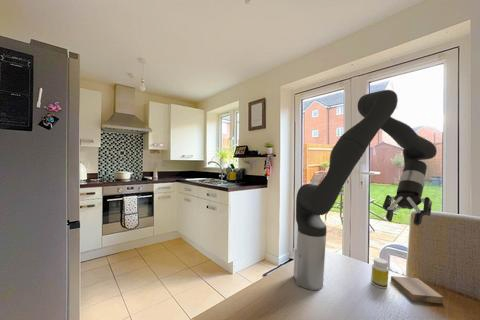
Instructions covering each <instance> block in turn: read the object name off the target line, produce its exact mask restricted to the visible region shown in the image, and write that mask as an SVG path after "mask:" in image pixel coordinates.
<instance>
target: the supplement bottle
mask: <svg viewBox="0 0 480 320" xmlns="http://www.w3.org/2000/svg"><path fill="white" fill-rule="evenodd" d="M388 263H389V262H388V261H387V260H385V259H384V258H379V257H374V258H373V263H372V265H371V275H370V277H371V278H370V279H371V280H370V283H371V284H372V285H373V286H374V287H377V288H379V289H387V288H388V286H389V285H388V283H389V282H388V281H389V267H388V265H389V264H388Z"/></svg>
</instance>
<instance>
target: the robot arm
mask: <svg viewBox="0 0 480 320" xmlns="http://www.w3.org/2000/svg"><path fill="white" fill-rule="evenodd" d="M398 99H399V98H398V95H397V93H396V92H395V91H393V90H392V89H382V90H378V91H377V90H376V91H374V92H373V91H372V92H370V93H367V94H366V93H365V94H364V95H362V96H360V98H359V100H358V101H357V110H358V113H359V115H361V117H363V118H362V119H361V120H360V121H359V122H358V123H356V124H354V125H353V126H352V127H350V128H349V129H348V130H347V131H345V132H344V133H343V134H342V135H340V136H339V138H338V140H337V141H336V143H335V144H334V145H333V147H332V148H331V152H330V154H329V163H328V170H327V171H326V172H327V173H326V174H325V176H324V178H323V179H322V180H321V181H320V182H319V184H315V183H314V184H313V183H304V184H302V185H301V186H300V187H299V188H298V191H297V193H296V199H295V221H296V223H297V233H296V234H297V235H296V236H297V237H296V249H295V250H294V258H293V260H294V261H293V278H294V281H295V285H296V286H298V287H302V288H303V289H306V290H311V291H316V290H317V291H318V290H321V289H322V288H323V287H324V280H325V279H324V275H325V262H326V261H325V260H326V245H327V225H326V224H325V222H324V221H323V219H322V218H321V216H324V215H326V214H328V213H329V212H330V211H331V209H332V208H333V207H334V205H335V204H336V201H337V199H338V198H339V195H340V193H341V191H342V189H343V187H344V186H345V184H346V182H347V180H348V178H349V177H350V175H351V173H352V172H353V171H354V168H355V167H356V165H357V164H358V163H359V161H360V160H361V159H362V157H363V155H364V153H365V152H366V150H367V149H368V147H369V146H370V144H371V143H372V141H373V140H374V138H375V137H376V135H377V133H378V132H379V131H380V129H381V131H383V132H384V133H386V134H387V135H388V136H390V138H392V140H394V142H396V144H397V145H398V146H399V147H401V149H402V154H403V164H404V165H403V169H402V173H401V175H400V178H399V182H398V185H397V188H396V195H395V196H392V195H391V196H390V195H389V194H387V195H385V199H384V201H383V204H382V208H383V209H384V210H385V211H386V215H385V218H386V220H387V221H388V222H390V223H391V222H392V221H393V217H394V213H395V212H396V211H399V210H400V209H402V210H403V209H404V210H406V209H408V210H413V209H414V211H416V213H415V214H414V219H413V224H414V225H415V226H418V227H419V225H421V224H422V221H423V217H424V216H431V215H432V214H431V213H432V207H433V206H432V205H433V204H432V203H433V202H432V200H431V199H430V197H428V196H426V197H424V198H422V197H423V192H424V187H425V181H426V180H425V179H426V175H427V169H428V166H427V164H426V162H424V161H425V160H431V159H433V158H434V157H436V156H437V147H436V146H435V144H434V143H433V142H432V141H430V140H429V139H426V138H425V137H422V136H421V135H419V134H418V133H417V132H416V131H415V129H413V128H412V127H411V126H410V125H409V124H407V123H405V122H404V121H401V120H399V119H396V118H394V117H393V116H392V115H393V114H394V112H395V110H396V109H397V106H398V101H399V100H398ZM421 203H422V204H423V209H422V210H421V209H420V208H419V206H418V205H420V204H421Z"/></svg>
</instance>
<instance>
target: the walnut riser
mask: <svg viewBox="0 0 480 320" xmlns="http://www.w3.org/2000/svg"><path fill="white" fill-rule="evenodd" d="M391 281H392V282H393V283H394V284H395V285H396V286H397V287H396V286H395V285H394V284H393V283H392V282H391ZM390 282H391V283H392V284H393V285H394V286H395V287H396V288H397V289H398V290H399V291H400V292H401V293H403V295H405V296H406V297H408V299H409V300H410V301H413V302H423V303H431V304H433V303H434V304H443V303H444V296H443V295H441V294H440V293H438V292H437V291H436V290H435V289H433V288H432V287H430V286H429V285H428V284H426V283H425V282H424V281H422V280H421V279H419V278H418V277H408V276H407V277H406V276H395V275H394V276H393V275H391V276H390Z"/></svg>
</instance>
